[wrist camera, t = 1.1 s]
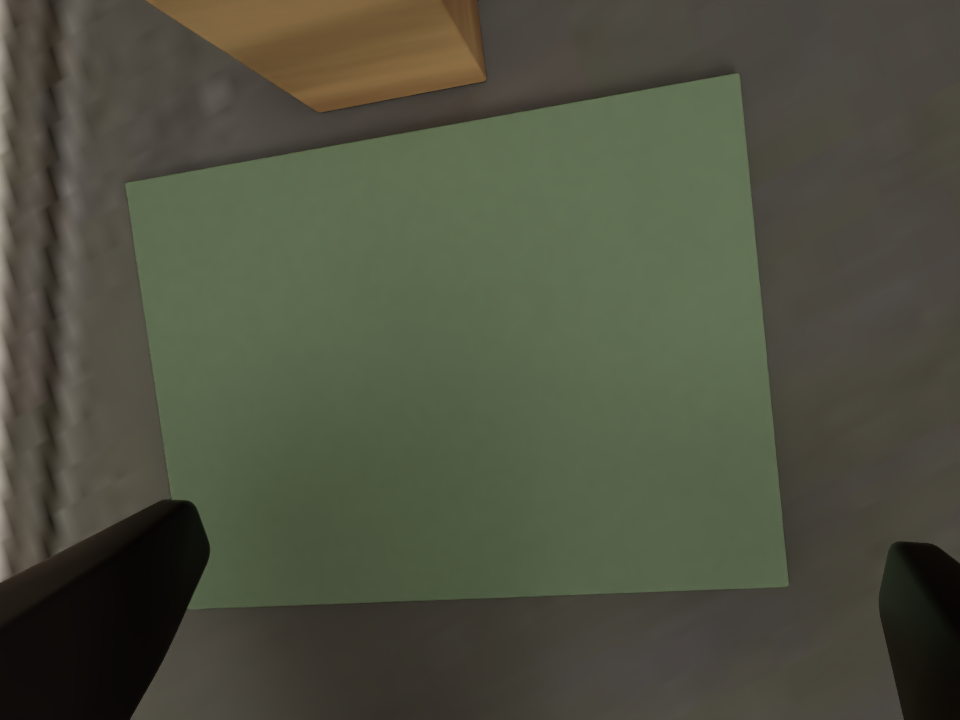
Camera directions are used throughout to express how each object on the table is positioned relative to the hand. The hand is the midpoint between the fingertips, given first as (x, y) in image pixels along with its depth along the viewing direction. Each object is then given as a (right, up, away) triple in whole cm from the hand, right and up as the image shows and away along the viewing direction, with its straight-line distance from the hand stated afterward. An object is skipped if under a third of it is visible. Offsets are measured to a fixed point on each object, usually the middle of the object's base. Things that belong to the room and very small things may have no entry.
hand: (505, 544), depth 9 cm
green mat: (-2, +2, +13) cm, 14 cm away
